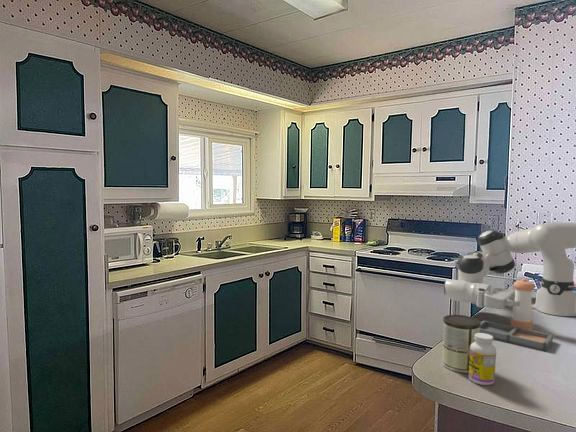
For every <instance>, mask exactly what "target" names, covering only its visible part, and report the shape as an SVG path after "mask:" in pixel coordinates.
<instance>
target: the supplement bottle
mask: <svg viewBox="0 0 576 432" xmlns="http://www.w3.org/2000/svg"><path fill="white" fill-rule="evenodd" d="M474 339H475V342H473V343H472V344H471V345H470V358H469V373H468V374H467V375H468V376H467V377H468V378H469V380H470V381H471V382H472V383H474V384H476V385H477V384H478V385H480V386H481V385H482V386H491V385H494V383H495V379H496V378H495V377H496V364H497V363H496V361H497V348H496V346H495V345H494V344H493V342H494V339H493V336H491V335H489V334H486V333H476V334H475V336H474Z"/></svg>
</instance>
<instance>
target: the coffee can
mask: <svg viewBox="0 0 576 432" xmlns="http://www.w3.org/2000/svg"><path fill="white" fill-rule="evenodd" d="M481 322H482V321H480V320H479V319H478V318H475V317H473V316H468V315H462V314H449V315H445V316H443V327H442V328H443V330H442V352H441V353H442V355H441V356H442V358H441V364H442V366H443V367H444V368H446V369H448V370H451V371H452V372H453V371H454V372H458V373H468V374H469V358H470V345H471V344H472V343H473V342H475V339H474V336H475V334H476V333H480V324H481Z"/></svg>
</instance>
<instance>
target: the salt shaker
mask: <svg viewBox="0 0 576 432" xmlns="http://www.w3.org/2000/svg"><path fill="white" fill-rule="evenodd" d="M513 288H514V289H515V290H514V291H515V300H514V301H520V306H519V307H516V306H512V315H511V316H512V317H511V318H510V326H514V327H519V328H523V329H528V330H533V323H534V321H533V308H532V305H533V302H532V299H533V298H532V296H533V294H532V293H533V291H534V290H535V284H534V283H533V282H531V281H530V280H529V281H528V280H527V279H526V278H522V279H521V280H516V281H514V283H513Z"/></svg>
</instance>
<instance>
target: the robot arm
mask: <svg viewBox="0 0 576 432" xmlns="http://www.w3.org/2000/svg"><path fill="white" fill-rule="evenodd" d="M477 243H478V246H480V249H481V251H470V252H467V254H466V255H465V254H464V255H462V256H460V258H458V260H457V268H458V279H446V280H445V281H444V285H443V294H444V295H443V296H445V298H446V299H450V300H453V301H456V302H461V303H470V304H472V305H475V306H476V307H477V308H488V309H498V310H500V309H504V308H506V307H513V306H516V307H519V306H520V301H515V291H516V290H514V289H509V288H501V287H500V288H499V287H496V288H493V287H492V285H491V284H487V283H484V278H486V277H487V276H488V274H489V272H493V273H495V274H500V275H501V274H506V273H509V272H511V271H512V270H514V269H515V266H516V262H515V259H514V258H513V256H512V253H516V254H527V253H528V254H529V253H536V252H538V253H539V252H540V253H541V257H542V261H543V266H542V267H543V270H542V271H543V272H542V277H541V282H540V283H541V284H540V285H541V287H539V288H538V289H537V290H536V298H535V303H532V309H535V310H537V311H538V312H541V313H544V314H548V315H552V316H558V317H576V293H575V291H574V289H575V282H574V274H575V273H574V272H575V263H574V262H573V260H571V259H570V258H569V257H568V256H567V251H566V250H567V249H568V250H569V249H575V248H576V222H544V223H540V224H537V225H535V226H534V227H530V228H525V229H520V230H517V231H514V232H512V233H510V234H508V235H507V236H505V233H503V232H500V231H498V230H487V231H484V232H482V233H481V234H480V235H479V236H478V237H477Z"/></svg>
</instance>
